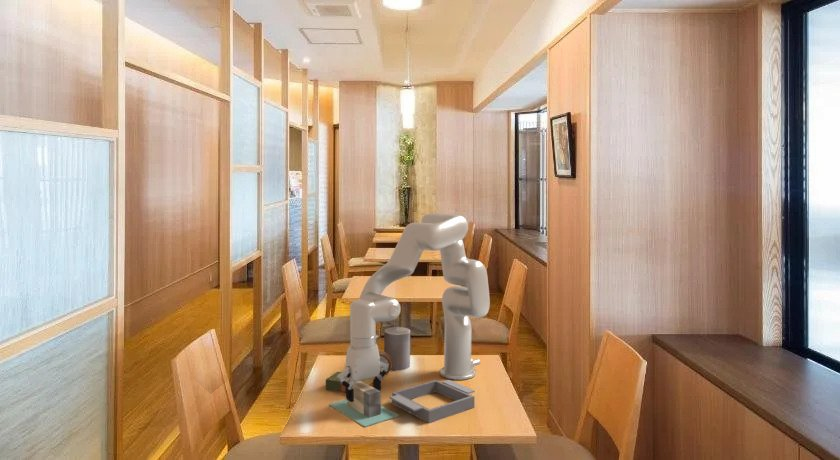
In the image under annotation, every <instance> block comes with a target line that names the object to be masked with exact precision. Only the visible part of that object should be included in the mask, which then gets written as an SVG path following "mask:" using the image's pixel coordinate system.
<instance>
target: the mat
mask: <svg viewBox="0 0 840 460" xmlns="http://www.w3.org/2000/svg"><path fill="white" fill-rule="evenodd" d="M328 405H329V407H332V408H333V409H334V410H336V411H338V412H339V413H341V414H343V415H344V416H345V417H347V418H349V419H350V420H353V422H355V421H356V422H355V423H358V425H360V426H362V427H363V426H364V427H363V428H367V427H370V426H373V425H376V424H380V423H383V422H386V421H389V420H392V419H396V418H398V417H400V415H399V414H398V413H395V412H394V411H392V410H390V409H388V408H386V407H385V406H383V405H381V414H380V415H377V416H374V417H370V418H369V417H367V416H366V415H364V414H362V413H361V412H359V411H357V410H355V409H354V408H352V407H350V406H349V405H348V403H347V399H346V398H345V399H342V400H339V401H335V402H332V403H329V404H328Z"/></svg>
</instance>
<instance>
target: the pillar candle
mask: <svg viewBox="0 0 840 460" xmlns="http://www.w3.org/2000/svg"><path fill="white" fill-rule="evenodd" d="M383 335H384V337H383V342H384V343H383V347H384V348H383V352H386V353H387V354H389V355H390V356H391V358H392V360H393V367H392V369H391V371H395V370H398V371H404V370H406V369H409V368H410V367H411V329H410V328H407V327H402V326H393V327H388V328H386V329H384V334H383Z"/></svg>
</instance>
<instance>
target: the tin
mask: <svg viewBox="0 0 840 460" xmlns="http://www.w3.org/2000/svg"><path fill="white" fill-rule="evenodd" d="M379 356H380V361H381V362H384V363H386V364H388V367H387V370H386V374H385V375H384V376H386V375H387V374H389V373H390V372H391V371H392V370H391V369H392V367H393V360H392V358H391V356H390V355H389V354H387V353H386V352H384V351H382V350H381V351H380V350H379ZM381 368H382V366H380V370H381Z"/></svg>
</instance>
